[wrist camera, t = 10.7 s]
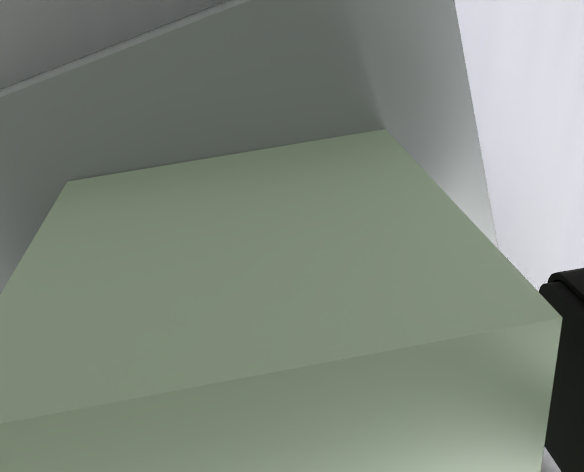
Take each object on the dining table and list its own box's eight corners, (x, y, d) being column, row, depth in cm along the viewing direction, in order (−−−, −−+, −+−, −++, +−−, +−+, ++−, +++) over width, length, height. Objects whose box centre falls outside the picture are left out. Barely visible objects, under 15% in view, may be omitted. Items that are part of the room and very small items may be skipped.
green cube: (385, 128, 10) (562, 317, 5) (395, 366, 13) (516, 642, 8) (67, 181, 10) (-87, 439, 5) (148, 413, 13) (107, 732, 8)
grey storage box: (365, -70, 13) (440, -75, 9) (447, 273, 18) (520, 376, 14) (-32, 86, 14) (-146, 154, 9) (154, 377, 19) (137, 508, 15)
